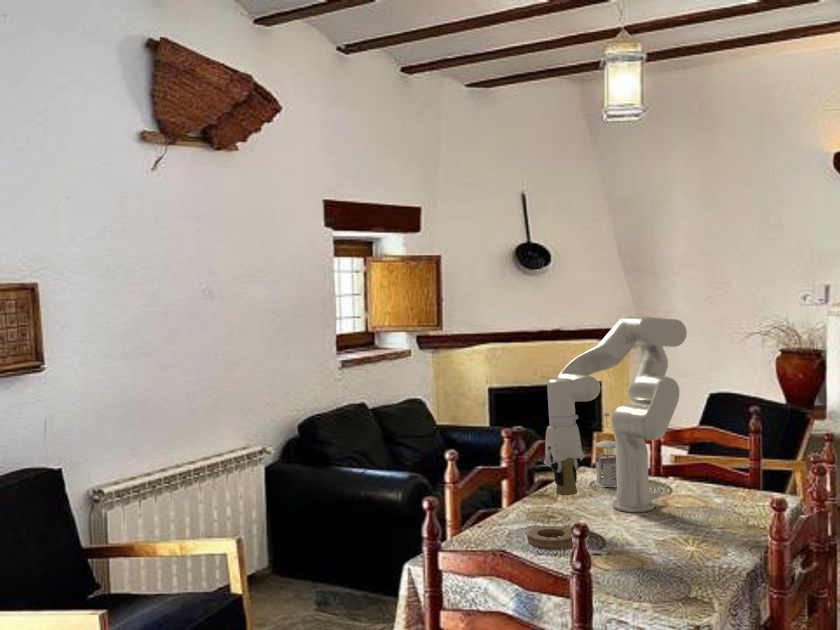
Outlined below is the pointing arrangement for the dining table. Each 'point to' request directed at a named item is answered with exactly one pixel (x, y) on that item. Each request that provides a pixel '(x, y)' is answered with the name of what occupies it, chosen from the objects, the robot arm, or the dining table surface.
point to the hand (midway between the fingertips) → (566, 482)
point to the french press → (606, 464)
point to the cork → (567, 478)
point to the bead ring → (550, 542)
